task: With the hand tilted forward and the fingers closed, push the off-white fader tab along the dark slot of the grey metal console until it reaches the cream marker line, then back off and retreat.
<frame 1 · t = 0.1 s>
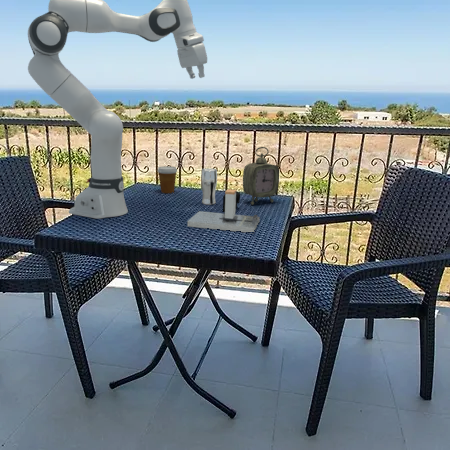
hand: (197, 77, 154), 52 cm above the table, tool tilted 20°, fingers open, 8 cm apart
tabletop clock: (258, 202, 177), on the table
fader tab: (230, 204, 141), point 8 cm above the table, slide at 0.0 cm
disposable coffee cup: (167, 192, 191), on the table
digital camera: (231, 210, 164), on the table
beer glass: (208, 203, 173), on the table
console: (224, 224, 144), on the table
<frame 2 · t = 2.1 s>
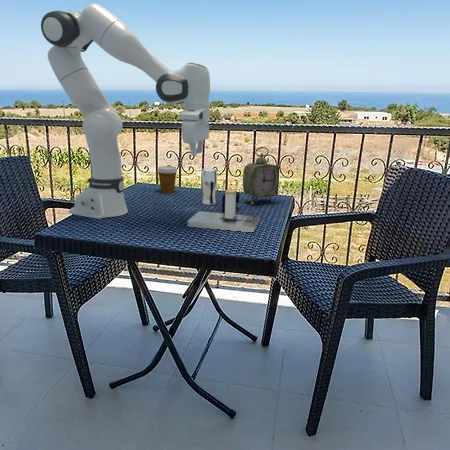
hand: (196, 154, 139), 25 cm above the table, tool pointing down, fingers open, 5 cm apart
nothing on the table moved.
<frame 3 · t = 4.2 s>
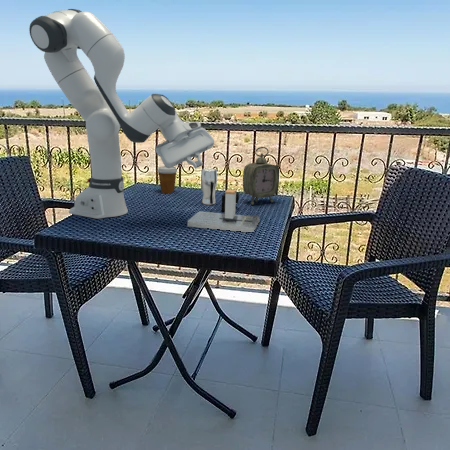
hand: (199, 166, 136), 21 cm above the table, tool tilted 45°, fingers closed
nothing on the table moved.
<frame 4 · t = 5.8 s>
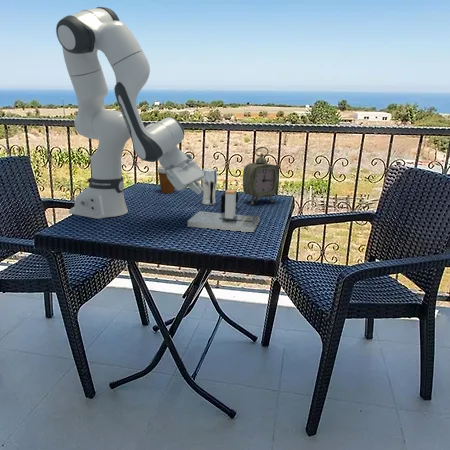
hand: (201, 192, 140), 12 cm above the table, tool tilted 45°, fingers closed
nothing on the table moved.
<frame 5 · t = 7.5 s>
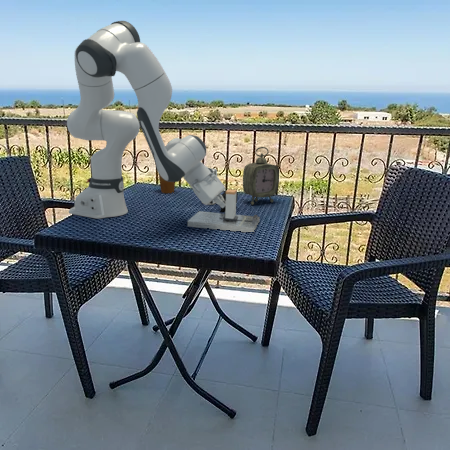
hand: (224, 206, 141), 7 cm above the table, tool tilted 45°, fingers closed, pressing on fader tab
fader tab: (230, 204, 141), point 8 cm above the table, slide at 0.2 cm, touching gripper
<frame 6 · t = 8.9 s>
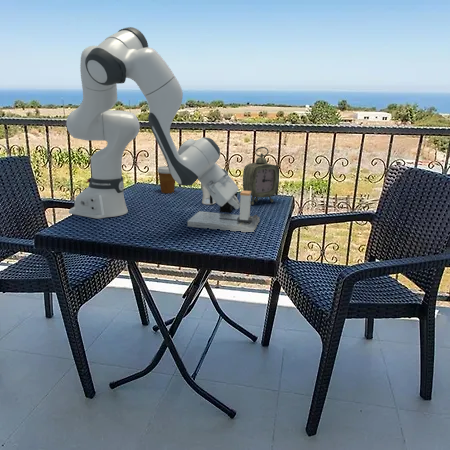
hand: (239, 207, 140), 7 cm above the table, tool tilted 45°, fingers closed, pressing on fader tab
fader tab: (245, 206, 140), point 8 cm above the table, slide at 5.5 cm, touching gripper
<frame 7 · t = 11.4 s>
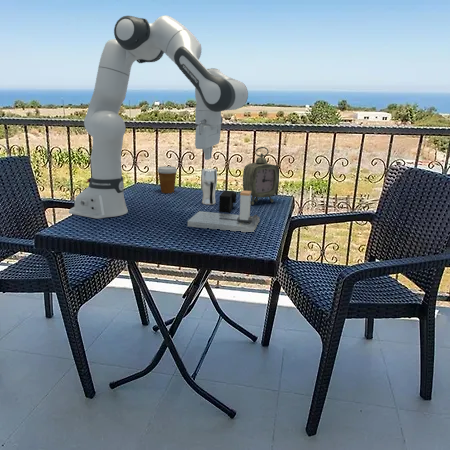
hand: (208, 159, 139), 23 cm above the table, tool pointing down, fingers closed
fader tab: (245, 206, 140), point 8 cm above the table, slide at 5.5 cm
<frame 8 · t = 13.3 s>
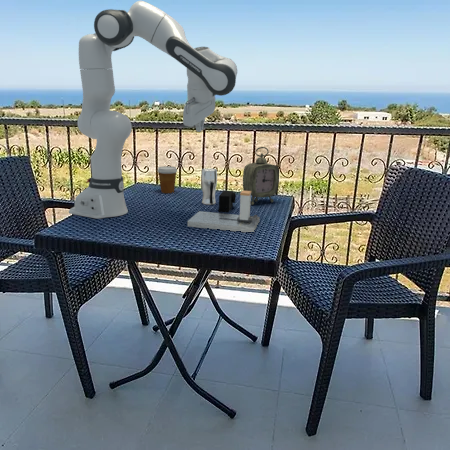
hand: (199, 130, 152), 32 cm above the table, tool tilted 15°, fingers closed
at the end: fader tab slide at 5.5 cm; the gripper is holding nothing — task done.
